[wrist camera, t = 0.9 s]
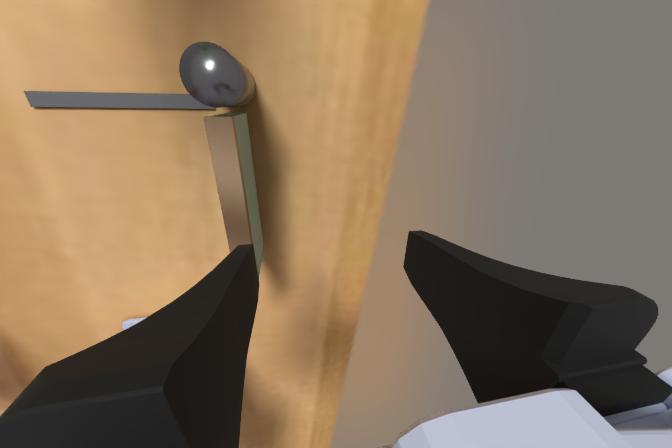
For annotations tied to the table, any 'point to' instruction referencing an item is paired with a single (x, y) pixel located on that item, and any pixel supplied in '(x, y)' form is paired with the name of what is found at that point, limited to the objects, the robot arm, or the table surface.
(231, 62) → the hinge post
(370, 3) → the table surface
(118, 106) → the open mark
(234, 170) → the green and brown panel
